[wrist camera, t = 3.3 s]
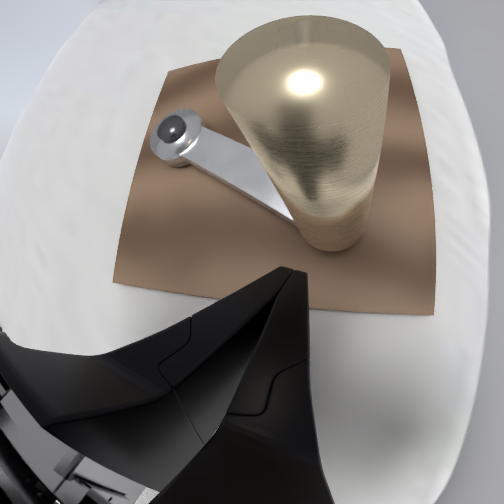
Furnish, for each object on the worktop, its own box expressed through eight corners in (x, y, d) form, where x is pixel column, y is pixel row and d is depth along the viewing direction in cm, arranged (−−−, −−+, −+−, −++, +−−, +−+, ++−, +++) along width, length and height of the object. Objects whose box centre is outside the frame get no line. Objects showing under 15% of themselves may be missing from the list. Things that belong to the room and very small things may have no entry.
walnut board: (429, 315, 14) (433, 315, 13) (119, 283, 20) (112, 282, 20) (400, 55, 17) (400, 49, 16) (172, 76, 24) (168, 71, 23)
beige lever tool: (152, 155, 20) (43, 69, 10) (184, 114, 20) (93, 15, 10) (339, 273, 15) (329, 171, 4) (378, 212, 15) (415, 38, 4)
